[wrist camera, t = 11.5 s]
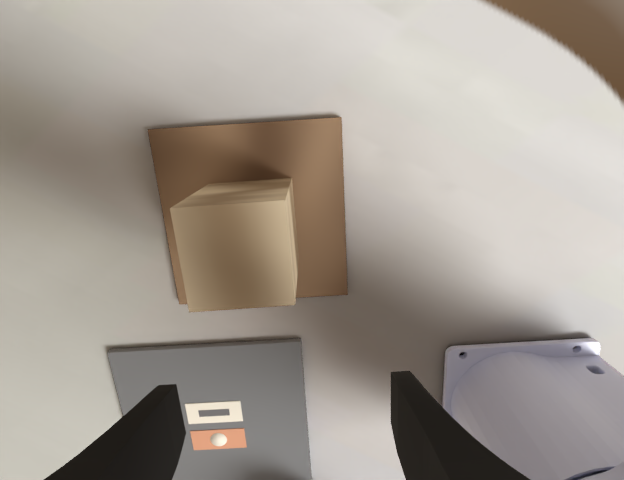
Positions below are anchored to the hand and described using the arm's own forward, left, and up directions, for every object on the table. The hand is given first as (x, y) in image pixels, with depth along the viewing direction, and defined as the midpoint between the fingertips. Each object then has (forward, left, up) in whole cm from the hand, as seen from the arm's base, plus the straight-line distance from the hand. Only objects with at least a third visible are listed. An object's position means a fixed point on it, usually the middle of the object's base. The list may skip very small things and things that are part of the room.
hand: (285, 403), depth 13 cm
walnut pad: (+2, -4, -10) cm, 11 cm away
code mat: (+6, +10, -10) cm, 16 cm away
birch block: (+2, -4, -10) cm, 11 cm away
